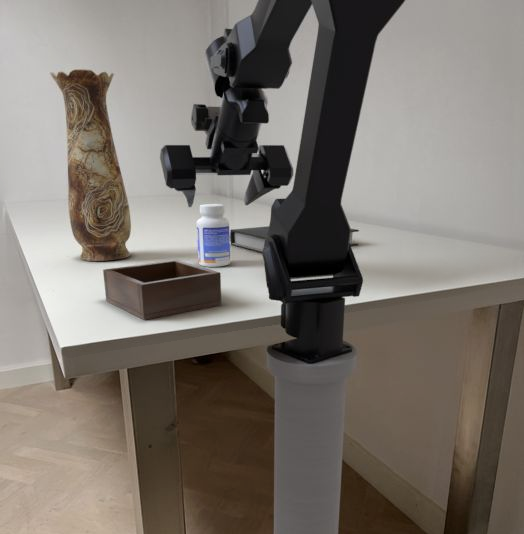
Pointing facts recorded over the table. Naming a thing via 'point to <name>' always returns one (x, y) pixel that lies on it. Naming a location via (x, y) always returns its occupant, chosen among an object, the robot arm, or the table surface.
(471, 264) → the table surface
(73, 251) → the table surface
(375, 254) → the table surface
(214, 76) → the robot arm
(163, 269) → the box
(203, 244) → the pill bottle
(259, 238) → the book
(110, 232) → the vase
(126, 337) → the table surface
